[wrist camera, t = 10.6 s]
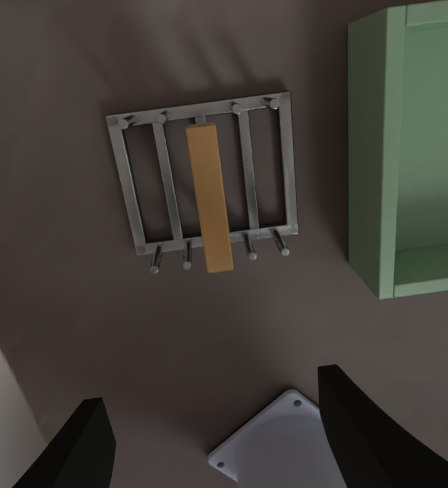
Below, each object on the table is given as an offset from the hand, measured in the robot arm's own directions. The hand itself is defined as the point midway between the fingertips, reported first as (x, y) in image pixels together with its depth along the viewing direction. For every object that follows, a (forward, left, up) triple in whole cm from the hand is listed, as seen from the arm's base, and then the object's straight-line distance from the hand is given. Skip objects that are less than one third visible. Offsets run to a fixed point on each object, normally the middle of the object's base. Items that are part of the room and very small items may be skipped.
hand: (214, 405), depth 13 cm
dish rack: (+4, -4, -9) cm, 11 cm away
